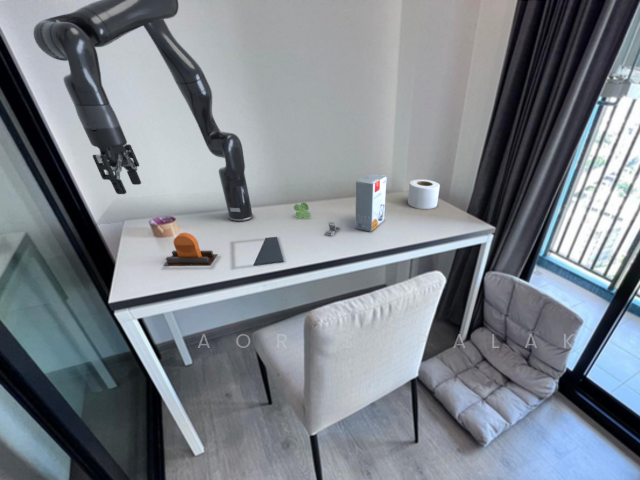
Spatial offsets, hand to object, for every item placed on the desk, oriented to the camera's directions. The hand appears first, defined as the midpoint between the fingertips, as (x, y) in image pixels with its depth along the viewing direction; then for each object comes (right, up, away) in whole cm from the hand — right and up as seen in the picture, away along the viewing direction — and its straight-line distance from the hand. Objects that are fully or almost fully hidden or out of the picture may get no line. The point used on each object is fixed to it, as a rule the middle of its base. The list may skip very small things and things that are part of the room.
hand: (129, 188), depth 92 cm
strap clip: (+49, -3, +42) cm, 65 cm away
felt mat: (+26, -14, +24) cm, 38 cm away
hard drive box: (+64, +2, +52) cm, 82 cm away
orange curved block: (+8, -18, +14) cm, 25 cm away
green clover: (+34, +6, +54) cm, 64 cm away
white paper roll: (+89, +19, +79) cm, 121 cm away
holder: (+8, -19, +15) cm, 26 cm away
